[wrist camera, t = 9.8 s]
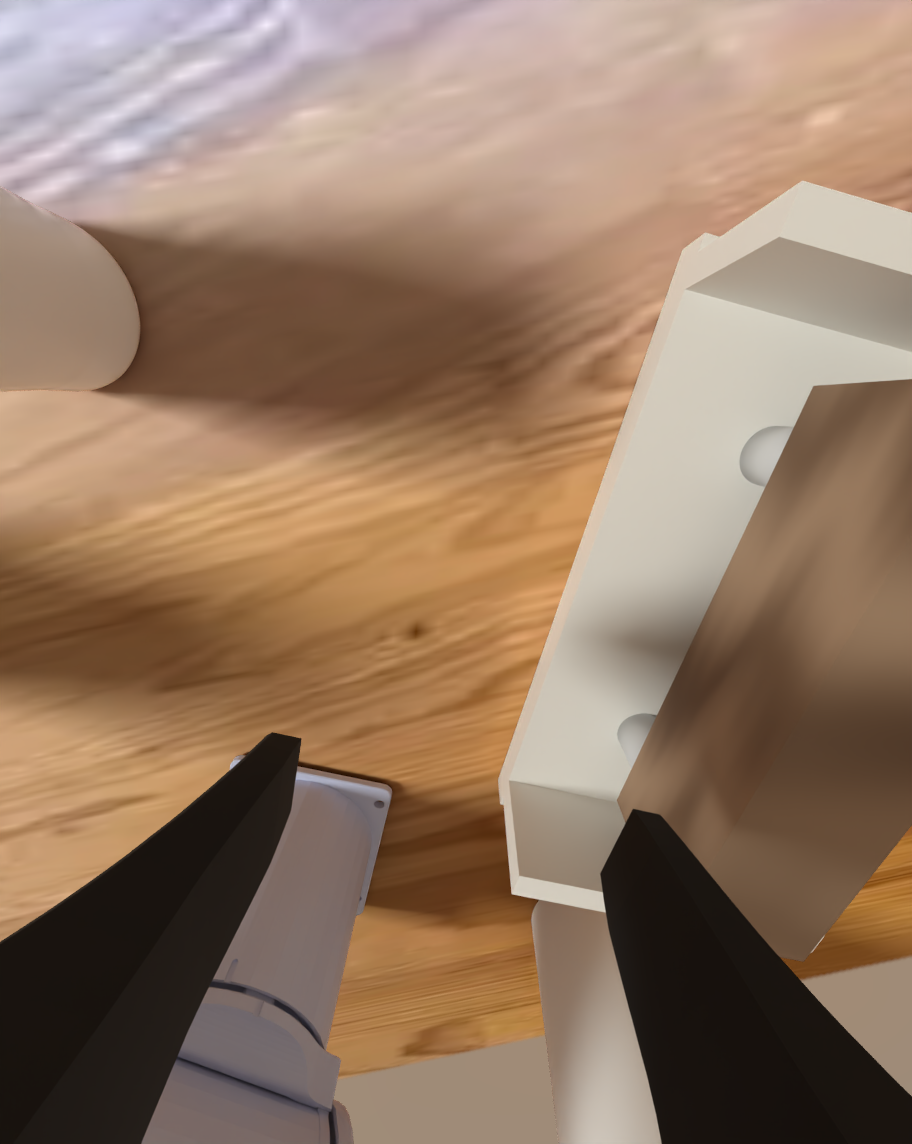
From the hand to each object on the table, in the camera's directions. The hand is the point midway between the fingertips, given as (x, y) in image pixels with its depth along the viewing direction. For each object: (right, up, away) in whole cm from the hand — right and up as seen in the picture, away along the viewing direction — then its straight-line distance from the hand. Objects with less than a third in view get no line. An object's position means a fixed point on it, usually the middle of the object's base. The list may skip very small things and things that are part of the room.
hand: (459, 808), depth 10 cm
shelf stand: (+11, +4, +9) cm, 15 cm away
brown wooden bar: (+10, +3, +6) cm, 12 cm away
